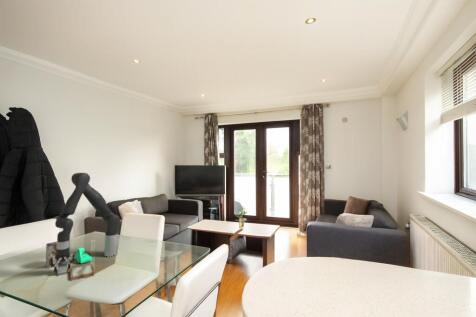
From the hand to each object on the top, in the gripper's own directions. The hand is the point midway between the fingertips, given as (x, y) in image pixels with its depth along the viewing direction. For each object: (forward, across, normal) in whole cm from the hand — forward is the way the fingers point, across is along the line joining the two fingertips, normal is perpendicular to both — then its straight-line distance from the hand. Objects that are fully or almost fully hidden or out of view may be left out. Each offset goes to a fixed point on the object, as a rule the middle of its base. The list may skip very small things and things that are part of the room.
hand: (62, 270), depth 165 cm
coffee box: (+1, +4, -14) cm, 15 cm away
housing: (+1, 0, 0) cm, 1 cm away
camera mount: (+2, -13, -13) cm, 19 cm away
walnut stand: (+1, -11, +8) cm, 14 cm away
